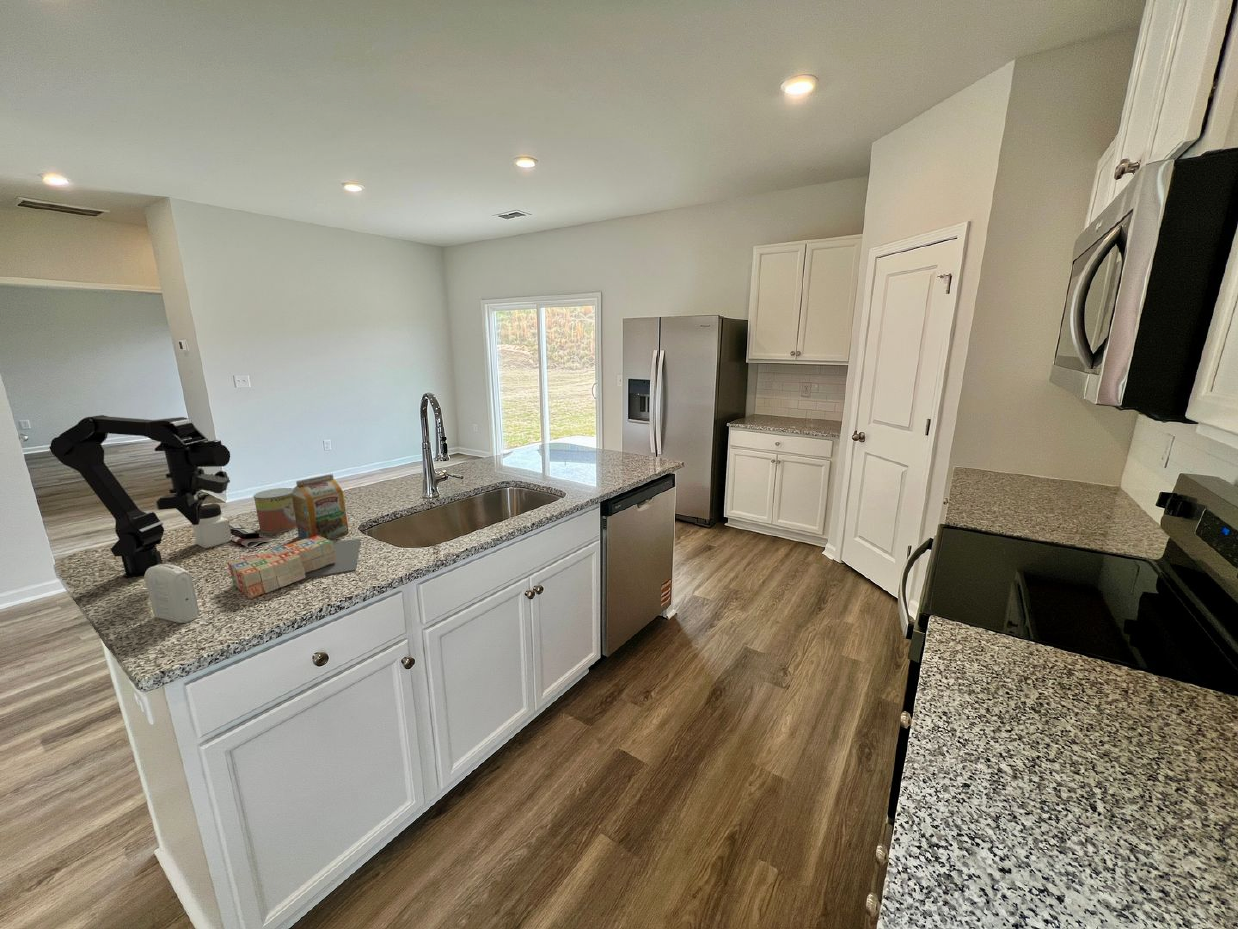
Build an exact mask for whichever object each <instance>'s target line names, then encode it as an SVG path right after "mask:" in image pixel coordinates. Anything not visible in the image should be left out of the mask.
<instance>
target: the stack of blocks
mask: <svg viewBox="0 0 1238 929" xmlns="http://www.w3.org/2000/svg"><path fill="white" fill-rule="evenodd" d="M333 542H334V541H333V540H331V539H326V538H324V537H321V536H319V535H317V536H314V537H311V538H308V539H300V540H297V541H295V542H292V543H291V542H290V543H288V544H285V545H284V544H283V545H282V546H279V547H275V548H273V549H270V550H266V551H263V552H260V553H256V554H252V555H249V556H246V557H242V558H238V559H235V560H232V561H229V562H227V566H228V569H229V574H230V575H231V579H232V584H233V585H234V586H235V588H237V589H238V590H240V591H241V593H242V594H244V595H245V596H246V597H248V598H249V599H253V598H256V597H258V596H261V595H263V594H268V593H270V592H273V591H275V590H277V589H279V588H284V587H285V586H288V585H291V584H293V583H296V582H298V581H302V580H301V579H303V578H306V576H305V573H307V572H310V571H312V570H316V569H319V568H322V567H324V566H326V565H329V564H332V563H334V562H337V559H336V554H335V551H334V546H333Z"/></svg>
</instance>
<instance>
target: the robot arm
mask: <svg viewBox="0 0 1238 929" xmlns="http://www.w3.org/2000/svg"><path fill="white" fill-rule="evenodd" d="M109 434H111V435H122V436H123V435H125V436H135V437H137V436H139V437H146V438H149V440H152V441H154V442H160V443H159V444H158V445H157V446H156V447H154V451H155V452H164V456H165V459H166V463H167V468H168V473H165V478H166V479H170V481H171V486H172V488H170V489H169V493H170V494H165V495H163V496H161V497H160V498H158V499H157V501H155V502H156V503H155V504H156V509H157V511H163V510H172V509H176V510H177V511H178V512H179V513H180V514H182V516H184V517H185V519H187V521H188V522H189V523H190V524H191V525H192V524H193V525H198V524H199V522H200V515H201V508H202V505H203V504H204V502H205V500H207V498H208V497H210V494H204V493H203V492H202V491H207V492H213V493H214V494H222V493H223V492H224V491H226V490H228V484H229V483H230V482H231V480H230V477H228V473H227V471H223V470H218V471H217V472H216V473H215V474H213V473H211V474H208V473H205V470H204V468H208V467H209V468H211V467H212V468H215V467H226V466H228V464H229V462H230V459H231V451H230V450H229V449H228V447H227V446H226V445H224V444H222V441H221V440H220V439H214V440H209V439H208V438H207V437H206V436H205V434H204V433H202V432H201V431H200V430H199V429H198V428H197V427H196V426H195V425H194V424H193V422H192V421H191V420H190V419H189V418H188V417H184V416H183V417H182V416H181V417H180V416H179V417H169V418H160V419H144V418H143V419H142V418H133V417H120V416H119V417H118V416H108V415H103V414H102V415H93V416H86V417H84V418H83V419H81V420H80V421H79V422H77V423H76V425H73V426H72V427H70V428H69V429H67V430H65V431H63V432H62V433H60V434H59V435H58V436H56V437H54V438H53V439H52V440H51V442H50V445H49V450H50V453H51V454H52V455H53V456H54V457H55V458H56V459H57V460H58V461H59V462H60V463H61V464H62V465H64V466H67V467H69V468H71V469H73V470H74V471H77V472H79V474H80V475H81V477H82V478H83V479H84V480H85V482H86V483H87V484H88V485H89V487H90V488H91V489H92V491H93V492H94V494H95V495H96V496H97V497H98V499H99V500H100V502H102V504H103V505H104V506H105V508H106V509H107V510H108V512H109V513H110V515H111V516H112V517H113V518H114V520H115V527H114V529H115V530H114V531H115V534H116V536H117V538H118V540H117V541H116V542H115V543H114V545H112V547H111V548H110V552H111V553H112V554H113V555H114V557H121V561H122V565H123V569H124V572H125V573H124V574H123V575H122V578H123V579H124V578H126V579H127V578H130V577H137V576H145V572H146V571H147V569H148V568H150V567H153V566H156V565H160V564H164V562H163V560H162V559H163V558H162V556H161V551H160V550H158V549H157V545H160V544H162V538H163V536H164V532H165V528H164V526H163V525H164V522H162V521H161V520H160V519H159V517H158V515H157V513H155V512H154V511H151V512H145V511H143V510H141V509H139V508H138V506H137V505H136V503H135V502H134V500H133V499H132V498H131V496H130V495H129V494H128V493H127V491H126V490H125V488H124V487H123V486H122V484H121V483H120V482H119V481H118V479H117V478H116V476H115V475H114V474H113V473H112V471H111V470H110V469H109V467H108V466H107V464H106V463H105V449H104V448H103V445H102V444H103V443H104V442H105V441H106V440H107V439H108V435H109Z"/></svg>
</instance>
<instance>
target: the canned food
mask: <svg viewBox="0 0 1238 929" xmlns="http://www.w3.org/2000/svg"><path fill="white" fill-rule="evenodd" d="M293 489H294V488H292V487H280V488H279V487H277V488H272V489H266V490H263V491H259V492H257V493H255V494H253V499H254V504H255V510H256V516H257V521H258V526H259V532H261V533H263V534H277V533H278V534H279V533H284V532H287V531H291V530H294V529H297V524H296V518H295V512H294V506H293V501H292V495H291V493H292V491H293Z"/></svg>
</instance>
